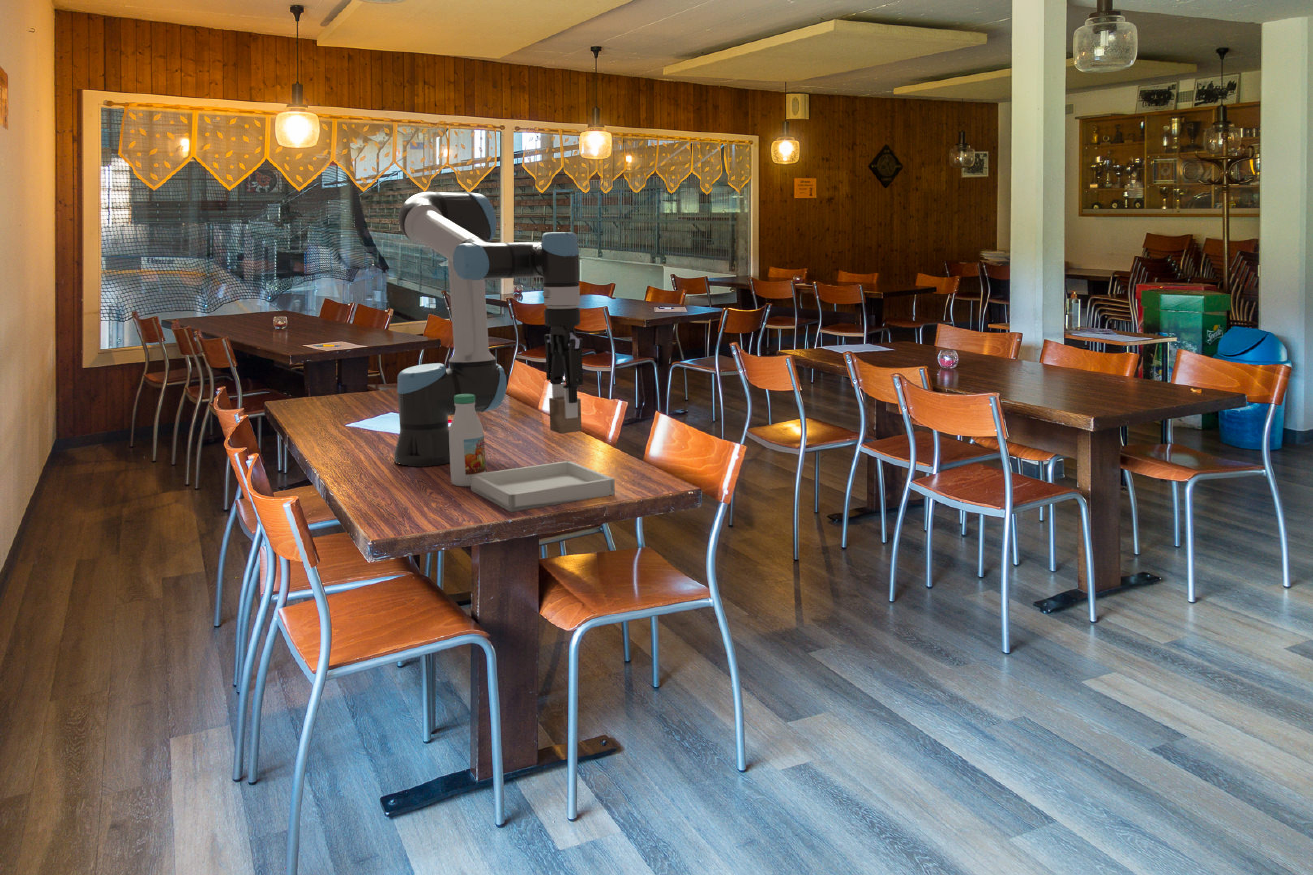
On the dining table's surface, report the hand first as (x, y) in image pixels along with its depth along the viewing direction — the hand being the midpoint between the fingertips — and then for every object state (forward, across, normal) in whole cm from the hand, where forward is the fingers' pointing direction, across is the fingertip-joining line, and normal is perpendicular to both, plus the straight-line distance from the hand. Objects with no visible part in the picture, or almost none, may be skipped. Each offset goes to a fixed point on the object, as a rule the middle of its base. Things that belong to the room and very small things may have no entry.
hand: (565, 415), depth 216 cm
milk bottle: (+16, -17, -16) cm, 29 cm away
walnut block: (+3, 0, 0) cm, 3 cm away
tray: (+16, 0, -6) cm, 17 cm away
